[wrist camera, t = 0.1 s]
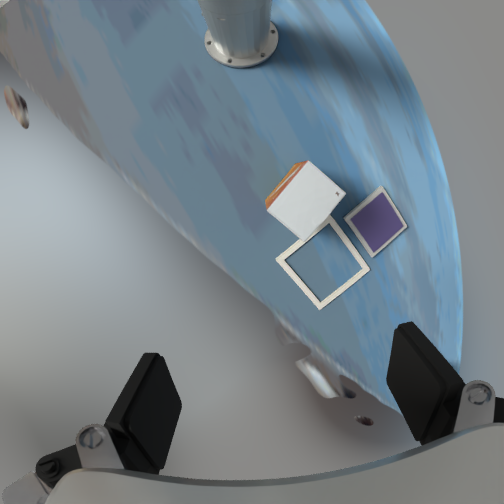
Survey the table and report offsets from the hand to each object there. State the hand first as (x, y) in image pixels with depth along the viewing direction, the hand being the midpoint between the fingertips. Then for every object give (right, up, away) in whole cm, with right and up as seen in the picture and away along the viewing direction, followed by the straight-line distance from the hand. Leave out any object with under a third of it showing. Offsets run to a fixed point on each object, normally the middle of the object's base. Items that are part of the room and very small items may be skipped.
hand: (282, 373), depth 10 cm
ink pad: (+21, +10, +35) cm, 42 cm away
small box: (+6, +14, +35) cm, 38 cm away
